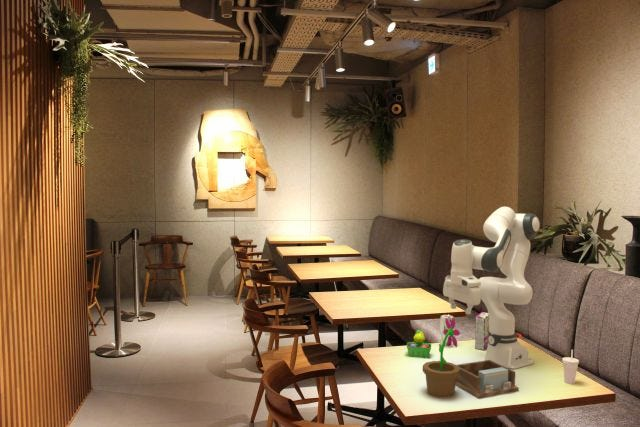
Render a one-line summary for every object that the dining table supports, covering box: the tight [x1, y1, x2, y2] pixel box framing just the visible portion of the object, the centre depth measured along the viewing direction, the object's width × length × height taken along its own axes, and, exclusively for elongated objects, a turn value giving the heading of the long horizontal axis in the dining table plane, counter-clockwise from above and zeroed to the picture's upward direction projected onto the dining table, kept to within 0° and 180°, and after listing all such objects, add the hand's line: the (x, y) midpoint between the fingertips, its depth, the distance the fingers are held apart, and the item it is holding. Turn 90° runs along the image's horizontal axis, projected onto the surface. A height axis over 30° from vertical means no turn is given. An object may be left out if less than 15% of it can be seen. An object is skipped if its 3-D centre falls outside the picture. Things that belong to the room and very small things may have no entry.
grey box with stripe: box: [478, 367, 508, 391], centre depth 219 cm, size 12×4×7 cm, turn 114°
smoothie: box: [561, 349, 580, 385], centre depth 230 cm, size 6×6×14 cm
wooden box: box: [455, 360, 520, 400], centre depth 224 cm, size 20×17×8 cm
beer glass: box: [439, 314, 455, 349], centre depth 278 cm, size 7×7×15 cm
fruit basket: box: [406, 329, 433, 359], centre depth 263 cm, size 11×9×11 cm
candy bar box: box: [474, 311, 489, 351], centre depth 277 cm, size 11×5×16 cm, turn 148°
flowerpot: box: [422, 317, 461, 398], centre depth 217 cm, size 14×14×30 cm
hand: (460, 311), depth 233 cm, fingers open, 8 cm apart
